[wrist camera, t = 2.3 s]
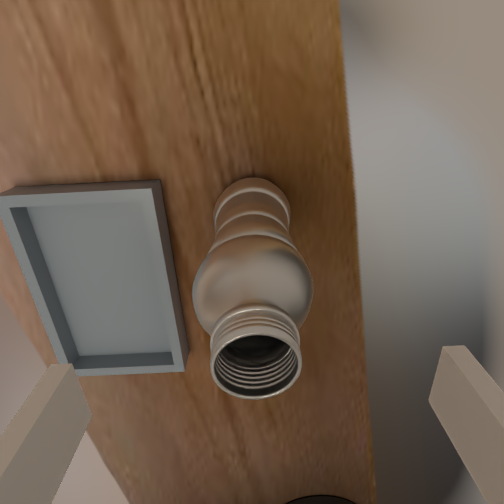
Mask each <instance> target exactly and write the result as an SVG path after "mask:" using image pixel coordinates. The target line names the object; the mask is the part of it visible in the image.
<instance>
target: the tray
mask: <svg viewBox="0 0 504 504" xmlns="http://www.w3.org/2000/svg"><path fill="white" fill-rule="evenodd" d="M0 217H1V219H2V222H3V224H4V227H5V229H6V232H7V234H8V237H9V239H10V242H11V244H12V247H13V249H14V252H15V254H16V257H17V259H18V262H19V264H20V267H21V270H22V272H23V275H24V277H25V280H26V282H27V285H28V287H29V290H30V292H31V295H32V297H33V300H34V302H35V305H36V307H37V310H38V312H39V315H40V317H41V320H42V322H43V325H44V327H45V330H46V332H47V335H48V337H49V340H50V343H51V345H52V348H53V350H54V353H55V355H56V358H57V360H58V363H59V364H70V363H72V364H73V367H74V370H75V372H76V375H77V376H97V375H119V374H141V373H162V372H184V371H185V368H186V364H187V359H188V355H189V348H188V342H187V336H186V330H185V324H184V319H183V313H182V307H181V301H180V295H179V289H178V283H177V277H176V271H175V265H174V260H173V254H172V248H171V242H170V236H169V230H168V224H167V218H166V212H165V206H164V201H163V195H162V189H161V183H160V179H158V180H138V181H119V182H100V183H80V184H61V185H42V186H22V187H14V188H11V189H9V190H7V191H4V192H2V193H0Z"/></svg>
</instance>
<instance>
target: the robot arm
mask: <svg viewBox="0 0 504 504" xmlns="http://www.w3.org/2000/svg"><path fill="white" fill-rule="evenodd" d="M428 401H429V403H430V405H431V407H432V408H433V410H434V412H435V414H436V415H437V417H438V419H439V420H440V422H441V424H442V426H443V427H444V429H445V431H446V433H447V434H448V436H449V438H450V440H451V441H452V443H453V445H454V447H455V449H456V450H457V452H458V454H459V455H460V457H461V459H462V461H463V463H464V464H465V466H466V468H467V470H468V471H469V473H470V475H471V477H472V478H473V480H474V482H475V484H476V485H477V487H478V489H479V491H480V492H481V494H482V496H483V498H484V499H485V501H486V503H487V504H504V392H503V391H502V390H501V388H500V387H499V386H498V385H497V384H496V382H495V381H494V380H493V379H492V378H491V376H489V374H488V373H487V372H486V371H485V369H484V368H483V367H482V366H481V364H480V363H479V362H478V361H477V360H476V359H475V357H474V356H473V355H472V354H471V352H470V351H469V350H468V349H467V348H466V346H464V345H461V346H443V347H442V351H441V355H440V359H439V363H438V366H437V370H436V374H435V377H434V381H433V385H432V389H431V392H430V396H429V400H428ZM91 417H92V414H91V411H90V409H89V406H88V403H87V401H86V398H85V396H84V393H83V390H82V388H81V385H80V383H79V380H78V377H77V375H76V372H75V370H74V367H73V364H72V363H70V364H51V365H50V366H49V368H48V369H47V370H46V372H45V373H44V375H43V376H42V378H41V379H40V380H39V382H38V383H37V385H36V386H35V388H34V389H33V390H32V392H31V394H30V395H29V396H28V398H27V399H26V400H25V402H24V403H23V405H22V406H21V408H20V409H19V410H18V412H17V413H16V415H15V416H14V418H13V419H12V420H11V422H10V423H9V425H8V426H7V428H6V429H5V430H4V432H3V433H2V435H1V436H0V504H51V503H52V501H53V499H54V497H55V495H56V492H57V490H58V488H59V486H60V484H61V482H62V480H63V477H64V475H65V473H66V471H67V469H68V467H69V465H70V462H71V460H72V458H73V456H74V454H75V452H76V449H77V447H78V445H79V443H80V441H81V439H82V437H83V435H84V432H85V430H86V428H87V426H88V424H89V422H90V420H91ZM288 504H353V503H352V502H350V501H347V500H344V499H341V498H337V497H330V496H315V497H307V498H303V499H299V500H296V501H293V502H291V503H288Z"/></svg>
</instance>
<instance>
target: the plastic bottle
mask: <svg viewBox="0 0 504 504" xmlns="http://www.w3.org/2000/svg"><path fill="white" fill-rule="evenodd" d="M213 222H214V229H215V239H214V242H213V245H212V247H211V249H210V250H209V252H208V254H207V255H206V257H205V259H204V260H203V262H202V263H201V265H200V267H199V269H198V272H197V274H196V277H195V279H194V282H193V288H192V298H193V305H194V309H195V313H196V316H197V318H198V321H199V323H200V324H201V326H202V327H203V328H204V330H205V331H206V332H207V333H208V334H209V335H210V336H211V339H210V349H211V359H210V369H211V375H212V377H213V380H214V381H215V383H216V384H217V385H218V386H219V387H220V388H221V389H222V390H223V391H225V392H227V393H228V394H230V395H233V396H235V397H238V398H243V399H252V400H254V399H264V398H269V397H272V396H275V395H278V394H280V393H282V392H284V391H285V390H287V389H288V388H289V387H291V386H292V385H293V384H294V382H295V381H296V380H297V378H298V377H299V375H300V372H301V369H302V356H301V351H300V347H299V346H300V336H299V332H298V329H299V328H300V327H301V325H302V324H303V323H304V321H305V319H306V318H307V316H308V314H309V310H310V307H311V303H312V298H313V281H312V276H311V274H310V271H309V269H308V267H307V265H306V263H305V261H304V259H303V257H302V256H301V254H300V253H299V252H298V250H297V249H296V247H295V246H294V244H293V242H292V240H291V238H290V235H289V225H290V206H289V202H288V200H287V198H286V196H285V195H284V193H283V192H282V191H281V190H280V189H279V188H278V187H277V186H276V185H274V184H273V183H271V182H270V181H268V180H265V179H262V178H255V177H252V178H245V179H241V180H238V181H236V182H234V183H233V184H231V185H230V186H229V187H227V188H226V189H225V190H224V191H223V193H222V194H221V195H220V196H219V198H218V200H217V201H216V204H215V207H214V212H213Z"/></svg>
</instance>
